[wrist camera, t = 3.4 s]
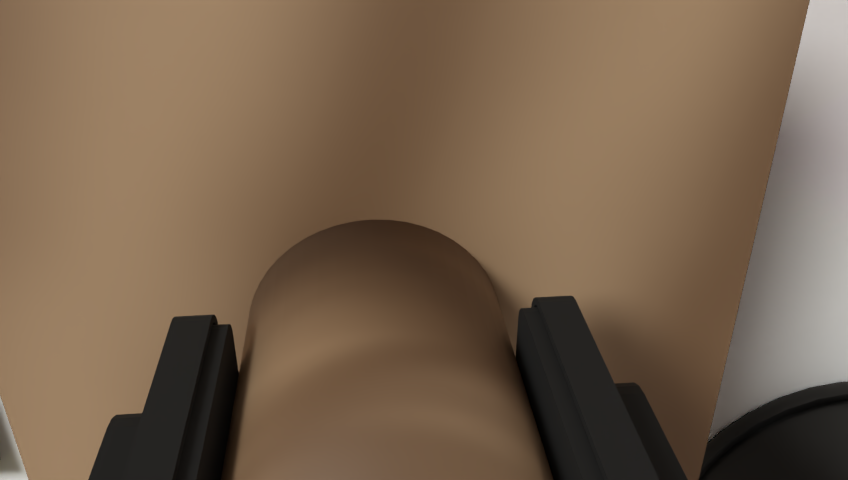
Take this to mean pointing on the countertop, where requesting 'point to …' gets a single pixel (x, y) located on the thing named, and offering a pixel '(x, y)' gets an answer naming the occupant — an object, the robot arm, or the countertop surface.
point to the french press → (785, 440)
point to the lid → (376, 215)
